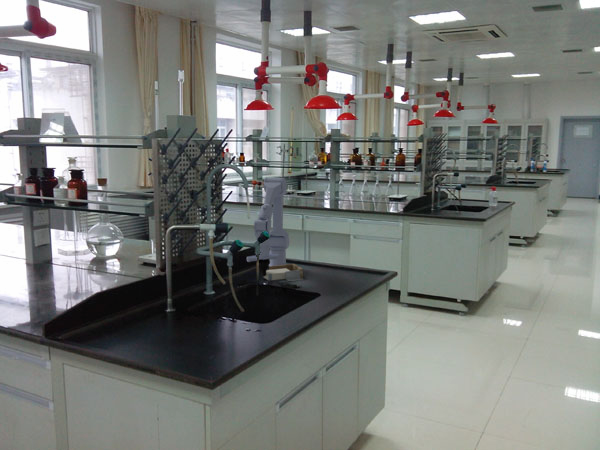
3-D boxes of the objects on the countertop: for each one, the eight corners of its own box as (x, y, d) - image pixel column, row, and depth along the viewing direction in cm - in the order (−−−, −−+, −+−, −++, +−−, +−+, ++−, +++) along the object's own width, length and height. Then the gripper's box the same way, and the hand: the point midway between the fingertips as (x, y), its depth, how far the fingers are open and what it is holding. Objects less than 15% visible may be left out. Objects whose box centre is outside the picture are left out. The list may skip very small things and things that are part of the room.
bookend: (285, 279, 231) (285, 271, 231) (299, 277, 234) (299, 269, 233) (288, 281, 228) (288, 273, 227) (303, 279, 230) (303, 272, 230)
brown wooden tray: (269, 274, 239) (269, 266, 239) (294, 272, 244) (294, 263, 243) (277, 280, 229) (277, 271, 229) (302, 277, 234) (302, 268, 233)
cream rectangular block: (263, 276, 236) (263, 270, 235) (286, 274, 240) (286, 268, 239) (268, 280, 229) (268, 274, 229) (291, 278, 233) (291, 271, 233)
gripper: (249, 249, 224) (250, 279, 226) (281, 246, 229) (281, 276, 231) (245, 246, 230) (245, 275, 232) (276, 243, 235) (276, 272, 238)
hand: (263, 276), depth 232 cm, fingers closed
